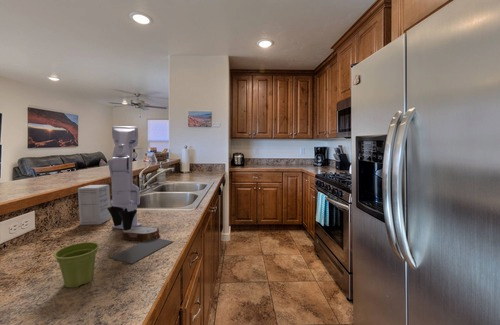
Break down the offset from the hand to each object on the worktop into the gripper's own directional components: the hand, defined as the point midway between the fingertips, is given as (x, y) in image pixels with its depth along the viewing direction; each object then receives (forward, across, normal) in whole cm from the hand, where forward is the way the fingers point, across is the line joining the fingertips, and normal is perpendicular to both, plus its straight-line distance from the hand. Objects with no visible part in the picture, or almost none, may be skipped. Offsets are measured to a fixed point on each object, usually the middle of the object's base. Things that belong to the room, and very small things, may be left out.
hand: (122, 227), depth 87 cm
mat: (+6, -11, -2) cm, 13 cm away
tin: (+4, 0, -3) cm, 5 cm away
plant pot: (+6, -16, +18) cm, 25 cm away
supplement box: (+6, +36, -4) cm, 37 cm away
